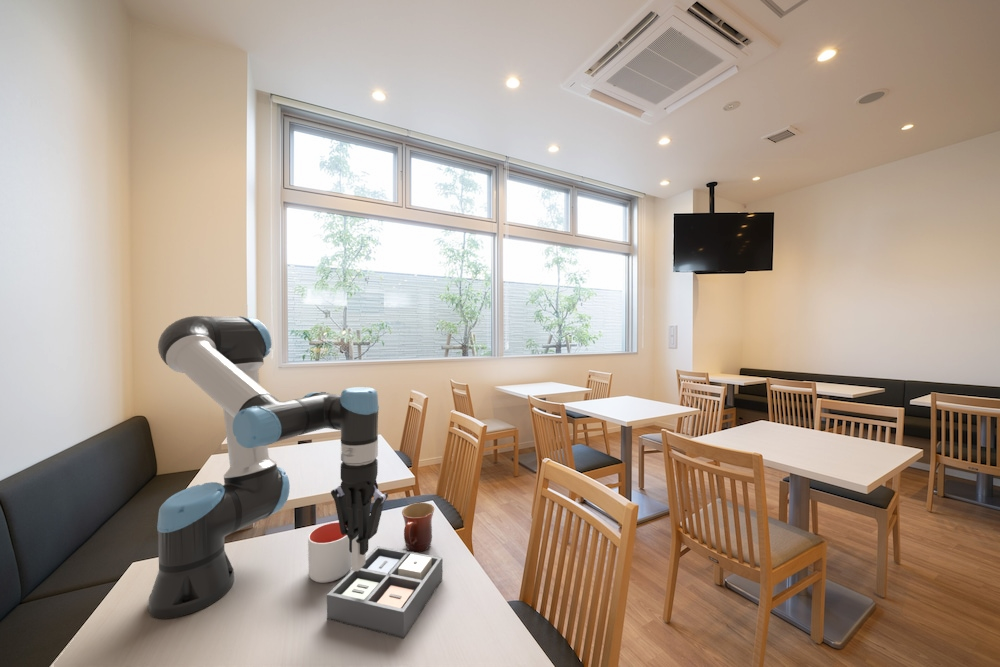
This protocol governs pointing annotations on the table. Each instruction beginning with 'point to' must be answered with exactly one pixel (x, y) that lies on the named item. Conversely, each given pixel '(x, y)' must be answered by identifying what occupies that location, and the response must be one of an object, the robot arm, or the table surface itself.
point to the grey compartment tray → (375, 613)
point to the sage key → (361, 589)
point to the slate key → (383, 564)
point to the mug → (418, 526)
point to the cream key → (415, 567)
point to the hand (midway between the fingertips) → (358, 566)
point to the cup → (328, 553)
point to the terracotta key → (396, 596)
